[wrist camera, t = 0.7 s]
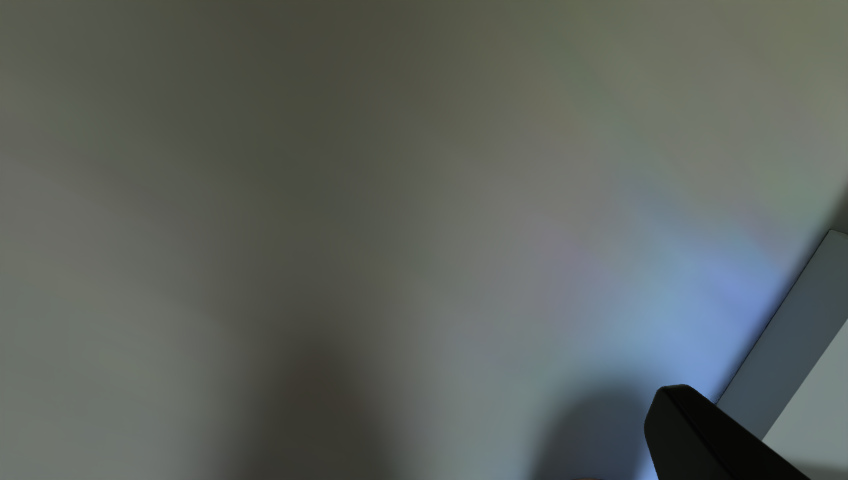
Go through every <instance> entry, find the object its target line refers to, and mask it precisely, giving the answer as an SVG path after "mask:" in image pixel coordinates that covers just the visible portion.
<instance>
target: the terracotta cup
mask: <svg viewBox="0 0 848 480" xmlns="http://www.w3.org/2000/svg"><path fill="white" fill-rule="evenodd" d="M574 480H601V479H596V478H581V479H574Z"/></svg>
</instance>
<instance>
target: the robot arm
mask: <svg viewBox="0 0 848 480" xmlns="http://www.w3.org/2000/svg"><path fill="white" fill-rule="evenodd" d="M644 434H645V438H646V442H647V445H648V448H649V451H650V454H651V457H652V461H653V464H654V467H655V470H656V473H657V476H658V479H659V480H811V479H810V478H809V477H808V476H806V475H805V474H804V473H802V472H801V471H800V470H798V469H797V468H796V467H795V466H793V465H792V464H791V463H789V462H788V461H787V460H786V459H784V458H783V457H782V456H780V455H779V454H778V453H777V452H775V451H774V450H773V449H771V448H770V447H769V446H768V445H766V444H765V443H764V442H762V441H761V440H760V439H758V438H757V437H756V436H755V435H753V434H752V433H751V432H749V431H748V430H747V429H746V428H744V427H743V426H742V425H740V424H739V423H738V422H737V421H735V420H734V419H733V418H731V417H730V416H729V415H728V414H726V413H725V412H724V411H722V410H721V409H720V408H718V407H717V406H716V405H715V404H713V403H712V402H711V401H709V400H708V399H707V398H706V397H704V396H703V395H702V394H700V393H699V392H698V391H697V390H695V389H694V388H692V387H691V386H689V385H685V384H679V385H670V386H663V387H661V388H659V389H658V390H657V392H656V394H655V396H654V399H653V401H652V404H651V406H650V409H649V411H648V414H647V416H646V419H645V422H644Z"/></svg>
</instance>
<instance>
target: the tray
mask: <svg viewBox="0 0 848 480" xmlns="http://www.w3.org/2000/svg"><path fill="white" fill-rule="evenodd" d="M716 406H717V407H718V408H720V409H721V410H722V411H724V412H725V413H726V414H728V415H729V416H730V417H731V418H733V419H734V420H735V421H737V422H738V423H739V424H740V425H742V426H743V427H744V428H746V429H747V430H748V431H749V432H751V433H752V434H753V435H755V436H756V437H757V438H758V439H760V440H761V441H762V442H764V443H765V444H766V445H768V446H769V447H770V448H771V449H773V450H774V451H775V452H777V453H778V454H779V455H780V456H782V457H783V458H784V459H786V460H787V461H788V462H789V463H791V464H792V465H793V466H795V467H796V468H797V469H798V470H800V471H801V472H802V473H804V474H805V475H806V476H808V477H809V478H810V479H811V480H848V234H845V233H841V232H838V231H834V230H831V229H830V231H829V232H828V234H827V235H826V237H825V238H824V240H823V241H822V243H821V245H820V246H819V248H818V249H817V251H816V252H815V254H814V255H813V257H812V258H811V260H810V261H809V263H808V265H807V266H806V268H805V269H804V271H803V272H802V274H801V275H800V277H799V278H798V280H797V281H796V283H795V285H794V286H793V288H792V289H791V291H790V292H789V294H788V295H787V297H786V298H785V300H784V301H783V303H782V304H781V306H780V308H779V309H778V311H777V312H776V314H775V315H774V317H773V318H772V320H771V321H770V323H769V324H768V326H767V328H766V329H765V331H764V332H763V334H762V335H761V337H760V338H759V340H758V341H757V343H756V344H755V346H754V348H753V349H752V351H751V352H750V354H749V355H748V357H747V358H746V360H745V361H744V363H743V364H742V366H741V368H740V369H739V371H738V372H737V374H736V375H735V377H734V378H733V380H732V381H731V383H730V384H729V386H728V387H727V389H726V391H725V392H724V394H723V395H722V397H721V398H720V400H719V401H718V403H717V404H716Z"/></svg>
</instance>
